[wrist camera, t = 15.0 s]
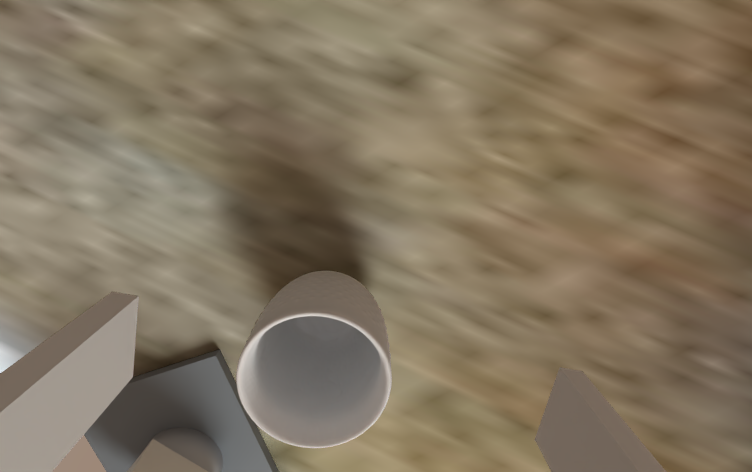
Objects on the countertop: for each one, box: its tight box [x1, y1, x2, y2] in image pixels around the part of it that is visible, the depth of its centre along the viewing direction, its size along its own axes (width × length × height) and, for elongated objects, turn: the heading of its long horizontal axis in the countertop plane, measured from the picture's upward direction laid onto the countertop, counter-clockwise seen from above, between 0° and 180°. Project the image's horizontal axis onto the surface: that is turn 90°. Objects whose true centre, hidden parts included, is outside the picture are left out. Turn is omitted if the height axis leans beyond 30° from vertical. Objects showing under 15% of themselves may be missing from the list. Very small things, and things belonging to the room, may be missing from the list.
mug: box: [236, 271, 392, 448], centre depth 39 cm, size 15×11×13 cm
